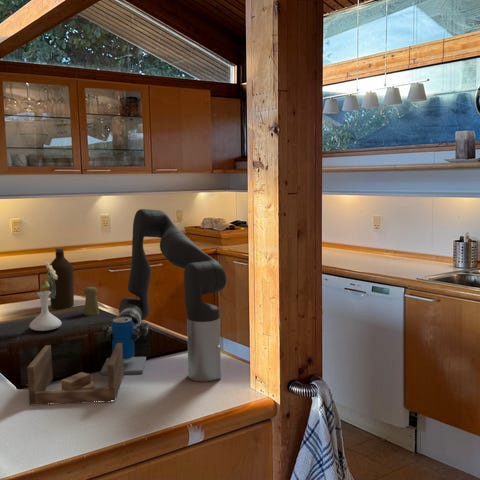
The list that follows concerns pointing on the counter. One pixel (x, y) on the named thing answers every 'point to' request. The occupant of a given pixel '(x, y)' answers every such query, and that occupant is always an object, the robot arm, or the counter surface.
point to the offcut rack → (43, 376)
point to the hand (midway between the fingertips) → (122, 337)
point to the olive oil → (61, 282)
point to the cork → (91, 301)
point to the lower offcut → (89, 386)
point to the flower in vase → (45, 308)
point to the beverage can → (123, 336)
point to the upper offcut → (76, 381)
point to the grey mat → (128, 366)
